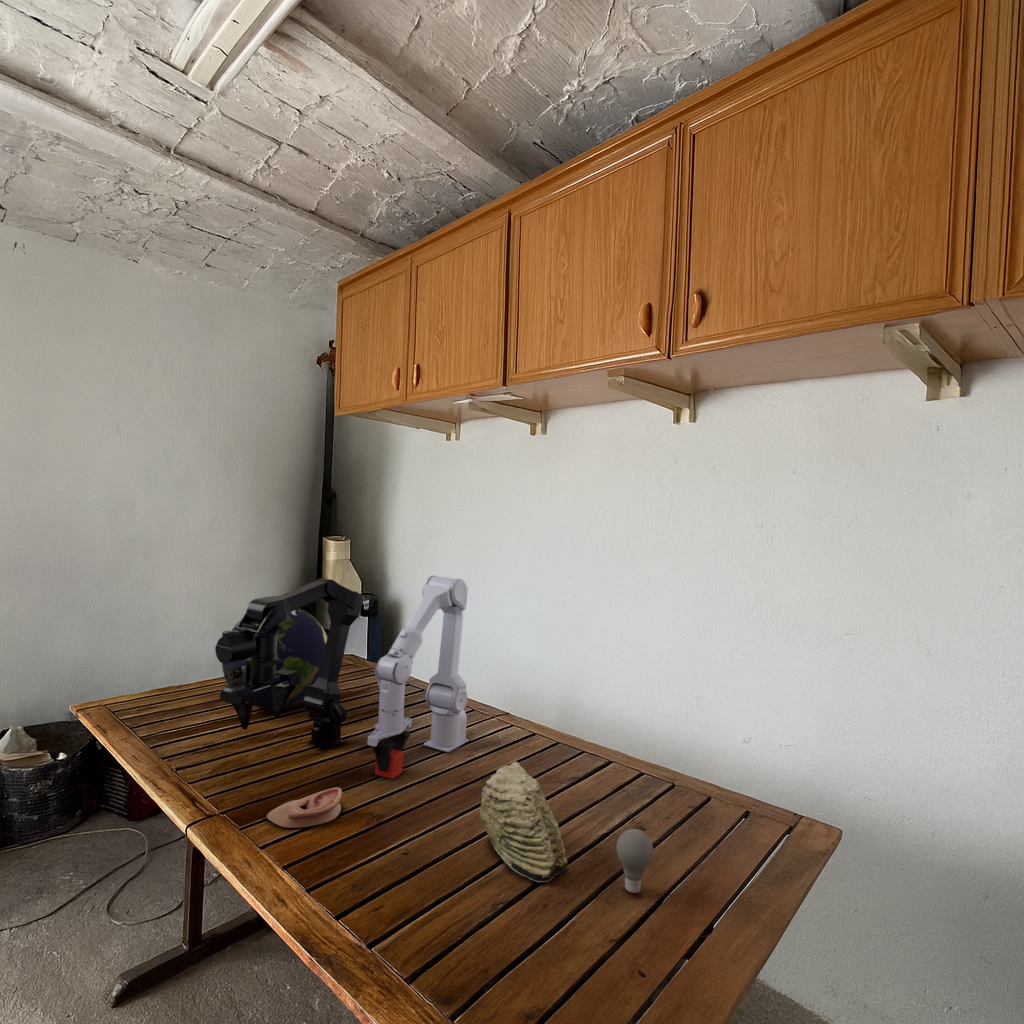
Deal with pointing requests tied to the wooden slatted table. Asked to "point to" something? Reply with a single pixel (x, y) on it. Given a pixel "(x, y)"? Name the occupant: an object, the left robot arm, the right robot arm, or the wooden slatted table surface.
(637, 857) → the light bulb
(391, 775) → the block
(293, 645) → the globe
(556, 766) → the wooden slatted table surface
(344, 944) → the wooden slatted table surface
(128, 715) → the wooden slatted table surface
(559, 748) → the wooden slatted table surface
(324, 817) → the anatomical model
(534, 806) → the fossil
